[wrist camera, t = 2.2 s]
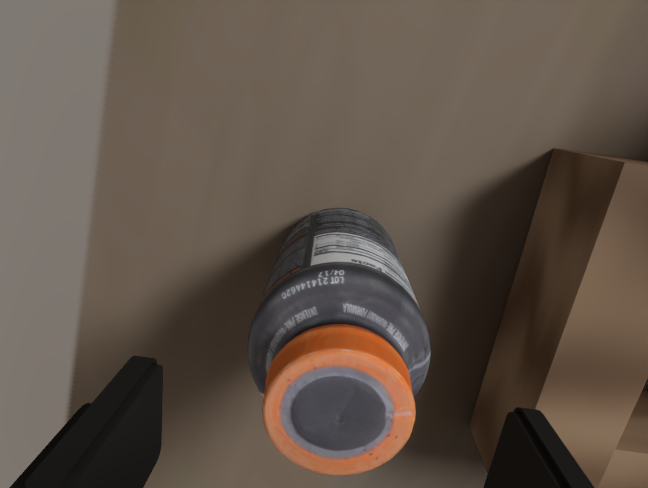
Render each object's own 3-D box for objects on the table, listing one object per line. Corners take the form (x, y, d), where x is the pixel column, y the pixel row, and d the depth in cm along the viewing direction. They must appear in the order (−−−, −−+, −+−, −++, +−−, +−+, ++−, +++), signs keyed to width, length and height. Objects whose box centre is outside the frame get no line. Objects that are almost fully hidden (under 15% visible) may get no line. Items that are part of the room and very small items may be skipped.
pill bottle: (317, 331, 23) (296, 536, 12) (258, 241, 21) (172, 382, 10) (416, 282, 21) (493, 459, 11) (361, 183, 20) (387, 273, 9)
